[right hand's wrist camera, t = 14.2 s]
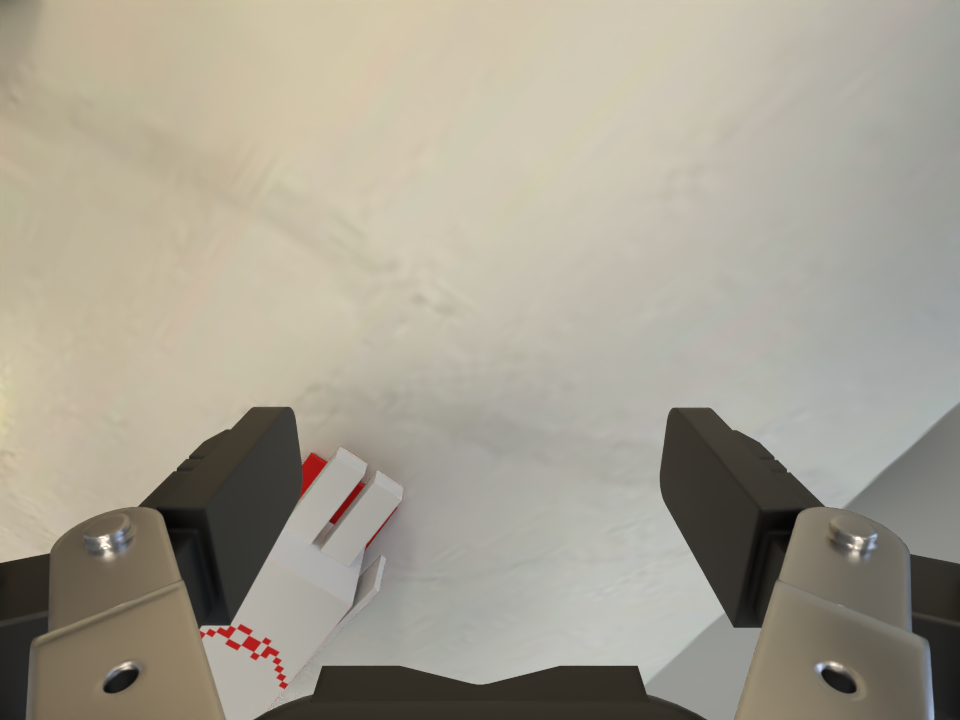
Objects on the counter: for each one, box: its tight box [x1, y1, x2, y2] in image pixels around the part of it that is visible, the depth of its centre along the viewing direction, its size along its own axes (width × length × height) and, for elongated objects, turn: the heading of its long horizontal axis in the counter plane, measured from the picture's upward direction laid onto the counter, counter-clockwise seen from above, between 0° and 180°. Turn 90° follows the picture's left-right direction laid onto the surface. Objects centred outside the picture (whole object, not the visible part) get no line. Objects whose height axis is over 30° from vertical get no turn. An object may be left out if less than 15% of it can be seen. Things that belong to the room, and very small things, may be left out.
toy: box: [199, 446, 404, 720], centre depth 45 cm, size 12×13×30 cm
